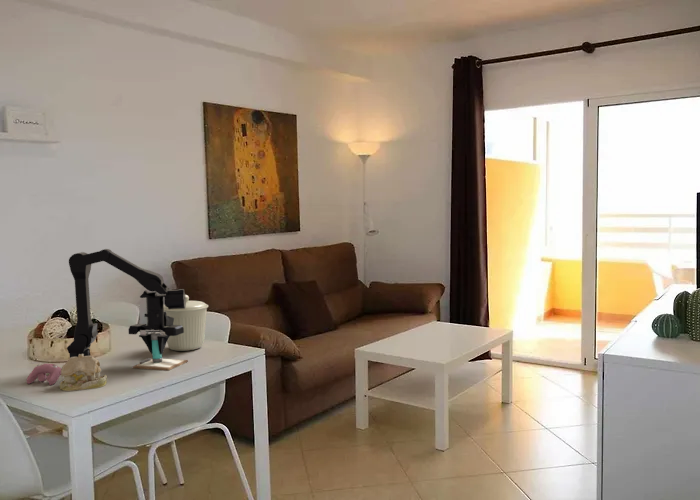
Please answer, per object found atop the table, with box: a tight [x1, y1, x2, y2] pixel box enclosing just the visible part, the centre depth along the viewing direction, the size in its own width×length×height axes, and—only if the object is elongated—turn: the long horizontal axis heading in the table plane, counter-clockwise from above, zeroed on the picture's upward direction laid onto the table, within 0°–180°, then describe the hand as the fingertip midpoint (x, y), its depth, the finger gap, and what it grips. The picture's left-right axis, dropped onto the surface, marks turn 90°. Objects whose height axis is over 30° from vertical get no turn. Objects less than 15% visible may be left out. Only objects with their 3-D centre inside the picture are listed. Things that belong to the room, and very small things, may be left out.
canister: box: [164, 294, 209, 352], centre depth 237 cm, size 18×18×21 cm
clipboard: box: [132, 357, 189, 371], centre depth 213 cm, size 12×14×1 cm
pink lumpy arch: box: [26, 363, 62, 386], centre depth 193 cm, size 10×5×7 cm, turn 75°
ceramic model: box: [59, 354, 108, 392], centre depth 189 cm, size 14×11×10 cm
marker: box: [151, 332, 163, 362], centre depth 213 cm, size 3×3×10 cm
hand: (157, 354), depth 214 cm, fingers closed on marker, 3 cm apart
